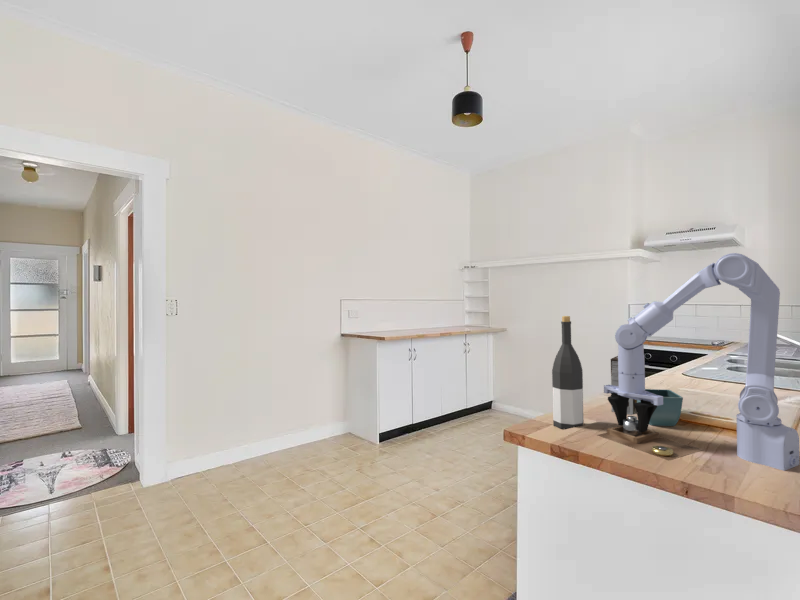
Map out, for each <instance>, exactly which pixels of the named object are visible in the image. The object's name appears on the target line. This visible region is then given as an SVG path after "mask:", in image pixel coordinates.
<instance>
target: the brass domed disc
mask: <svg viewBox="0 0 800 600" xmlns="http://www.w3.org/2000/svg"><path fill="white" fill-rule="evenodd" d="M652 453H653V454H655V455H658V456H662V457H671V456H673V450H672V449H671V448H668V447H664V446H653V447H652Z"/></svg>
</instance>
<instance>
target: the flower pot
mask: <svg viewBox="0 0 800 600" xmlns="http://www.w3.org/2000/svg"><path fill="white" fill-rule="evenodd" d="M645 391H647V392H650V393H653V394H656V395H659V396H663V405H659V406H657V408H656V409H655V411H654V413H653V414H652V417H651V419H650V422H649V425H650V426H653V427H654V426H659V427H662V426H663V427H675V426H676V425H677V423H678V422H679V420H680V418H681V414H682V409H683V399H684V397H683V396H682V395H680V394H679V393H677V392H675V391H673V390H671V389H660V388H659V389H653V388H652V389H651V388H650V389H649V388H645ZM638 402H641V401H640V400H637V403H638ZM649 425H648V426H649Z"/></svg>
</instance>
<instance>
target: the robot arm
mask: <svg viewBox="0 0 800 600" xmlns="http://www.w3.org/2000/svg"><path fill="white" fill-rule="evenodd" d="M722 283H725V284H727V285H729V286H732V287H735V288H737V289H738V290H739V291H740V292H742V293H743V294H744V295H745V296H747V297H748V298H749V299H750V313H749V328H748V342H747V343H748V344H747V360H746V361H747V362H746V375H745V386H744V387H743V388H742V390H741V391H740V393H739V400H738V403H737V408H738V411H739V413H737V414H736V455H737V457H738V458H740V459H742V460H744V461H747V462H750V463H752V464H753V463H754V464H757V465H758V464H759V465H762V466H766V467H769V468H773V469H777V470H780V471H787V470H790V469H793V468H794V467H797V466H800V437H799V433H798V431H797V429H795V428H793V427H790V426H787V425H785V424H783V423H782V419H781V418H779V417H778V416H779V414H780V409H779V408H780V407H779V405H778V401H779V400H778V396H777V394H776V392H775V371H776V358H777V357H776V356H777V343H778V342H777V341H778V327H779V313H780V299H781V297H780V296H781V292H780V288H779V286H777V284H776V283H775V282H774V281H773V279H771V277H770V276H769V275H768V274H767V272H766V271H765V270H764V269H763V267H762V266H761V265H759V263H758V262H756V261H754V260H753V259H752V258H750V257H748V256H746V255H745V254H742V253H737V252H732V253H727V254H724V255H723V256H721V257H719V258H718V259H717V260H716V262H715V263H714V262H712V263H710V264H708V265H707V266H705V267H703V268H702V269H701V270H699V271H697V272H696V273H695V274H694V275H692V276H691V277H690V278H689V279H688V280H687V281H686V282H684V283H683V284H682V285H681V286H679V287H678V288H677V289H675V291H673V293H671V294H670V295H669V296H668V297H666V298H665V299H664V300H662V301H657V300H656V301H652V302H651V303H649V302H647V303H645V304H644V305H643V306H642V307H643V308H644V309H642V310H641V311H639V312H638V313H637V314H636V315H634V316H633V317H628V319H627V322H628V323H624V324H621V325H620V326H619V327H618V328H617V330H615V334H614V338H615V339H614V340H615V342H616V343H617V347H618V349H617V351H618V353H617V356H618V382H619V386H613V385H611V384H606V385H604V384H603V393H604V394H610V396H607V401H608V402H609V404H610V405H611V409H612V408H613V410H614V412H613V413H614V414H615V417H616V422H617V424H618V426H621V425H623V419H628V414H627V406H628V401H629V398H631V399H635V400H640V401H641V402H638V403H634V405H635V408H636V411H637V413H636V415H637V416H636V417H637V420H638V429H639V432H645V431H647V429H648V428H649V422H650V419H651V417H652V414H653V413H654V411H655V409H656V408H657V406H659V405H663V396H659V395H656V394H653V393H650V392H647V391H645V389H646V371H645V370H646V367H645V365H646V364H645V361H646V360H645V353H644V349H645V347H644V343H645V342H646V341H647V339H648V338H649V337H652V336H654V334H656V333H657V332H659V331H660V330H661V329H663V328H664V327H665V326H667V325H668V324H669V323H670V322H672V321H673V320H674V312H675V311H676V310H678V308H681V307H682V306H683V305H684V304H686V303H687V302H688V301H690V300H691V299H693V298H694V297H695V296H697V295H698V294H700V292H702V291H703V290H705V289H707V288H712V287H715V286H716V287H717V286H720V285H722ZM648 430H649V429H648Z"/></svg>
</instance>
